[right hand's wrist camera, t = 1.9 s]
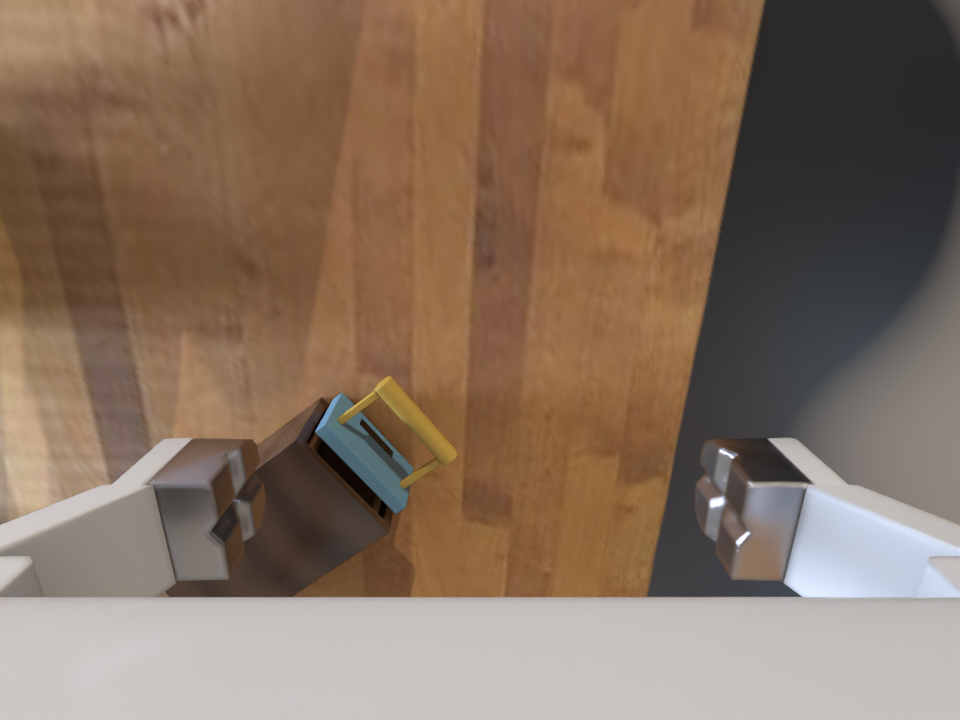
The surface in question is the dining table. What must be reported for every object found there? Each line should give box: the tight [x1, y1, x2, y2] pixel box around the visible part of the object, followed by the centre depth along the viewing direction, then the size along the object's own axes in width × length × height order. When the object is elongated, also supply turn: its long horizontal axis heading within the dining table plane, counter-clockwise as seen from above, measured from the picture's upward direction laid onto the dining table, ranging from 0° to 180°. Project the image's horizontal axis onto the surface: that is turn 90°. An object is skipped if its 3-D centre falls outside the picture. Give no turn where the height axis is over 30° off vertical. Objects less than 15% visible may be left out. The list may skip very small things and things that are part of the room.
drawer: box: [306, 376, 458, 514], centre depth 50 cm, size 25×10×6 cm, turn 127°
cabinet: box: [165, 398, 393, 597], centre depth 51 cm, size 20×11×8 cm, turn 127°
